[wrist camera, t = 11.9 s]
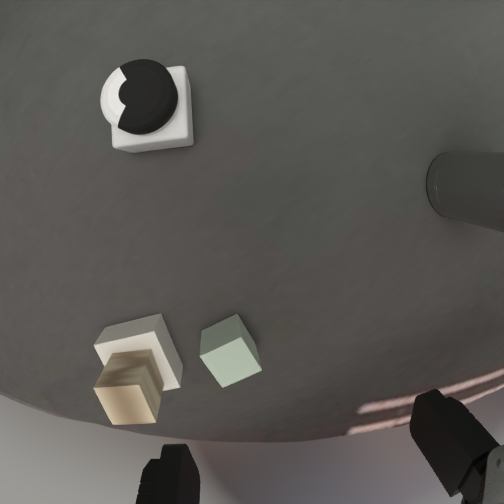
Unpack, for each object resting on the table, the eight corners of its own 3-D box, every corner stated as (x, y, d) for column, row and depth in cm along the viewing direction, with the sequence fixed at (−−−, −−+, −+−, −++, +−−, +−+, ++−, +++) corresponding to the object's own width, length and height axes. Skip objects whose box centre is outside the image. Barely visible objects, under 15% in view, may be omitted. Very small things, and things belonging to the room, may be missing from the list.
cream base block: (161, 312, 37) (154, 331, 32) (183, 364, 39) (180, 387, 34) (105, 326, 37) (93, 345, 32) (130, 375, 39) (122, 397, 34)
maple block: (151, 348, 33) (139, 384, 26) (164, 383, 34) (156, 422, 27) (112, 353, 32) (93, 387, 25) (126, 387, 33) (112, 424, 27)
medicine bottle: (190, 85, 31) (179, 43, 19) (194, 145, 33) (182, 129, 21) (129, 94, 30) (92, 60, 19) (131, 153, 32) (91, 143, 20)
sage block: (237, 313, 38) (241, 336, 32) (255, 343, 39) (261, 370, 33) (201, 330, 38) (199, 356, 32) (221, 360, 39) (222, 387, 33)
